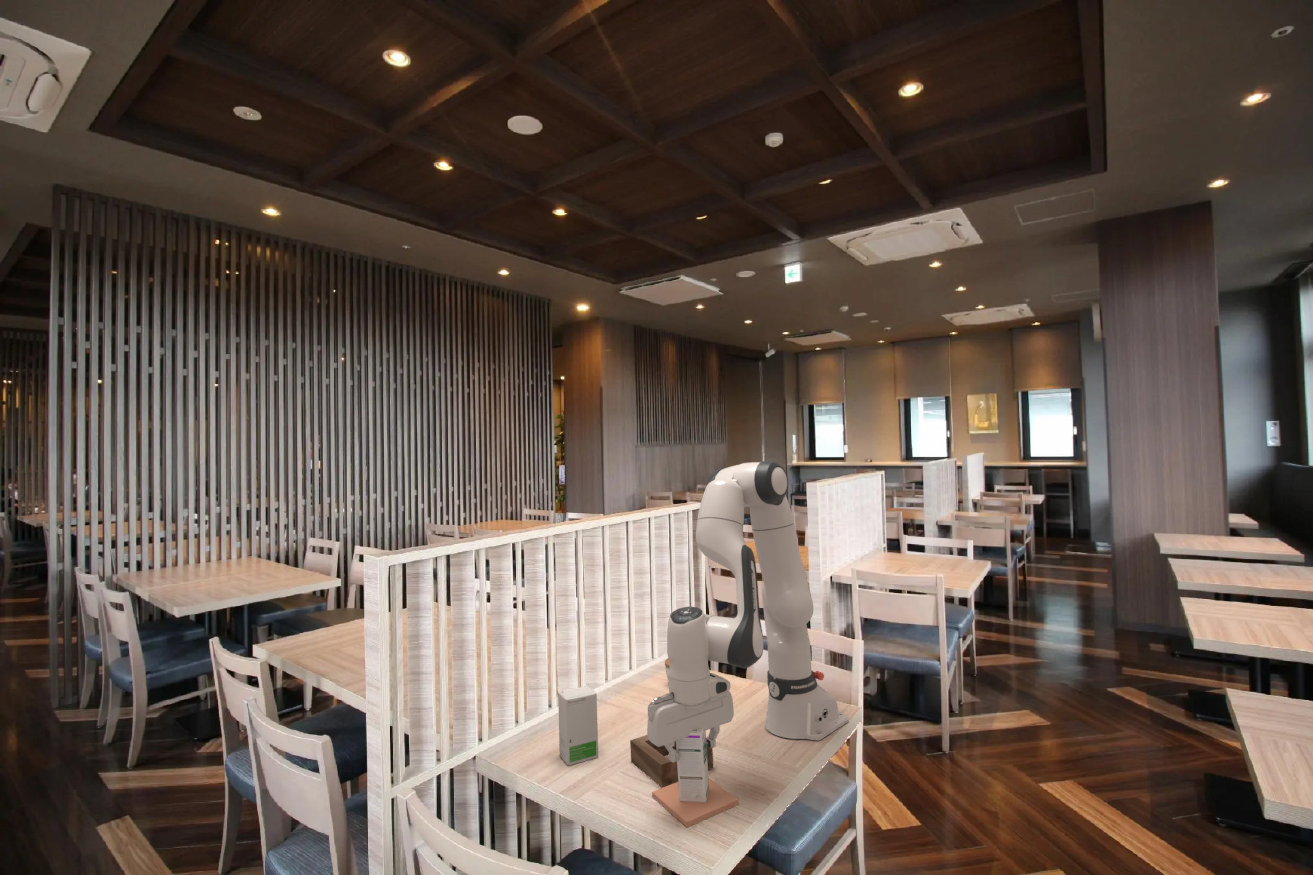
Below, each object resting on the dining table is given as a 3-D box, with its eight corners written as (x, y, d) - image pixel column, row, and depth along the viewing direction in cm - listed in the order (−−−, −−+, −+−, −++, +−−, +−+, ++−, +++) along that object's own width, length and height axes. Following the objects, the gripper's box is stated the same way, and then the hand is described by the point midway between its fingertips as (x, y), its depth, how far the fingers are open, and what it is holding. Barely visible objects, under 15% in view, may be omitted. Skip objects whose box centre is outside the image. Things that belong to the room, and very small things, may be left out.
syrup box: (706, 803, 124) (703, 732, 124) (678, 801, 125) (675, 730, 125) (709, 788, 129) (706, 719, 130) (682, 786, 130) (679, 718, 131)
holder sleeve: (679, 744, 151) (678, 724, 151) (713, 767, 139) (712, 745, 139) (631, 761, 144) (630, 740, 144) (662, 787, 132) (661, 764, 132)
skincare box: (567, 766, 143) (564, 700, 143) (558, 754, 149) (555, 691, 149) (600, 757, 147) (597, 692, 147) (590, 745, 152) (587, 683, 153)
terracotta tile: (701, 776, 136) (701, 772, 136) (738, 804, 125) (738, 799, 125) (652, 796, 129) (652, 791, 129) (686, 827, 118) (686, 821, 118)
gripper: (655, 705, 119) (659, 775, 119) (736, 680, 130) (739, 745, 130) (639, 695, 124) (642, 762, 124) (718, 672, 135) (721, 734, 135)
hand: (693, 753), depth 127 cm, fingers open, 8 cm apart
